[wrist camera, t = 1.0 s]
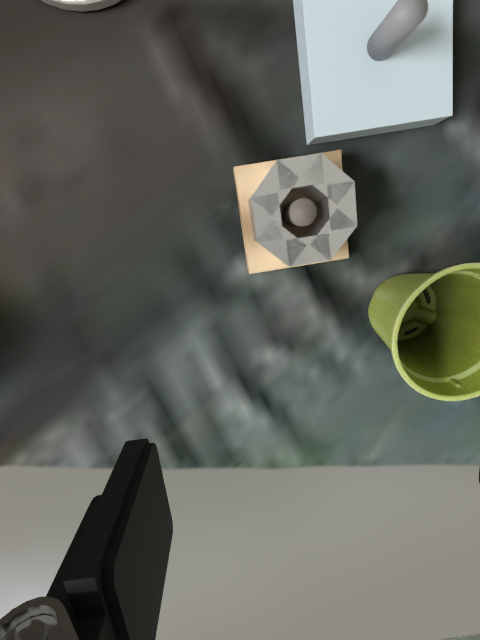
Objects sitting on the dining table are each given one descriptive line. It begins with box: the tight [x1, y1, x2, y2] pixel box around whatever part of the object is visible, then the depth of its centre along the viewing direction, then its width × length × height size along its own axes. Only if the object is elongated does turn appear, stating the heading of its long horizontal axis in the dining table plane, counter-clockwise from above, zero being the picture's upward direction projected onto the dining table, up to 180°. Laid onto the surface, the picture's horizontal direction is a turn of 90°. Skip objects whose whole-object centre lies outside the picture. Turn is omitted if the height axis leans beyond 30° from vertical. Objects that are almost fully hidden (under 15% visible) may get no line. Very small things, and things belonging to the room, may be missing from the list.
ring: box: [247, 153, 358, 267], centre depth 25 cm, size 7×7×4 cm
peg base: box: [293, 0, 453, 145], centre depth 23 cm, size 10×10×7 cm
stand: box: [234, 150, 349, 274], centre depth 26 cm, size 8×8×6 cm
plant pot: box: [368, 263, 480, 401], centre depth 27 cm, size 9×9×9 cm
